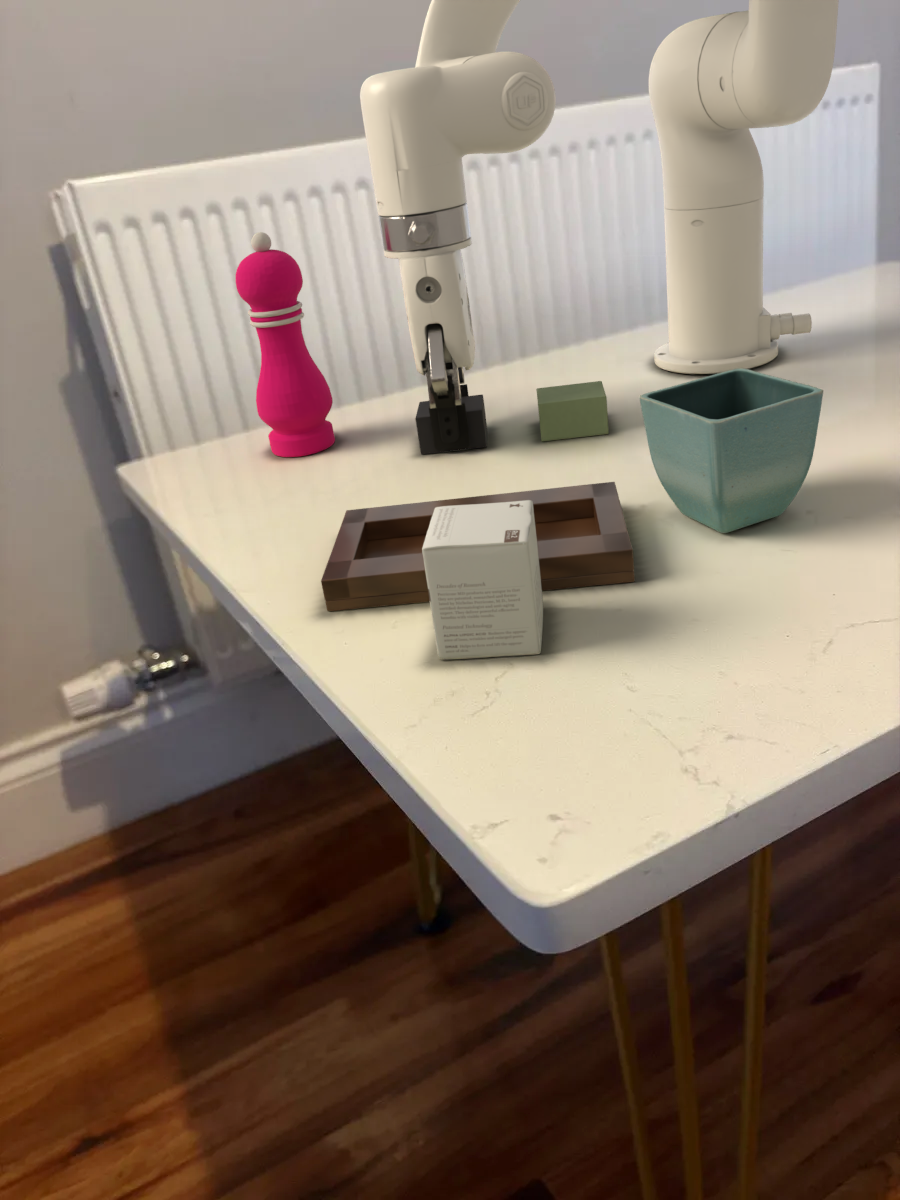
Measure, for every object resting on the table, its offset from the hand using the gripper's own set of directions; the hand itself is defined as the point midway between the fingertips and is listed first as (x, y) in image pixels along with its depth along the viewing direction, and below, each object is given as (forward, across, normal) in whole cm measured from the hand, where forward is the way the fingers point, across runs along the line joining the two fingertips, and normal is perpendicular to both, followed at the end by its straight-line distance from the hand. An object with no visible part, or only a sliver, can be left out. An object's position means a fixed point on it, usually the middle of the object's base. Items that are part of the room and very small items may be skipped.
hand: (453, 435), depth 95 cm
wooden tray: (+1, -26, -3) cm, 26 cm away
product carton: (+1, -37, -4) cm, 37 cm away
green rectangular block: (+1, 0, -11) cm, 11 cm away
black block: (+1, 0, 0) cm, 1 cm away
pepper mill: (+1, +4, +15) cm, 16 cm away
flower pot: (+1, -23, -20) cm, 31 cm away
